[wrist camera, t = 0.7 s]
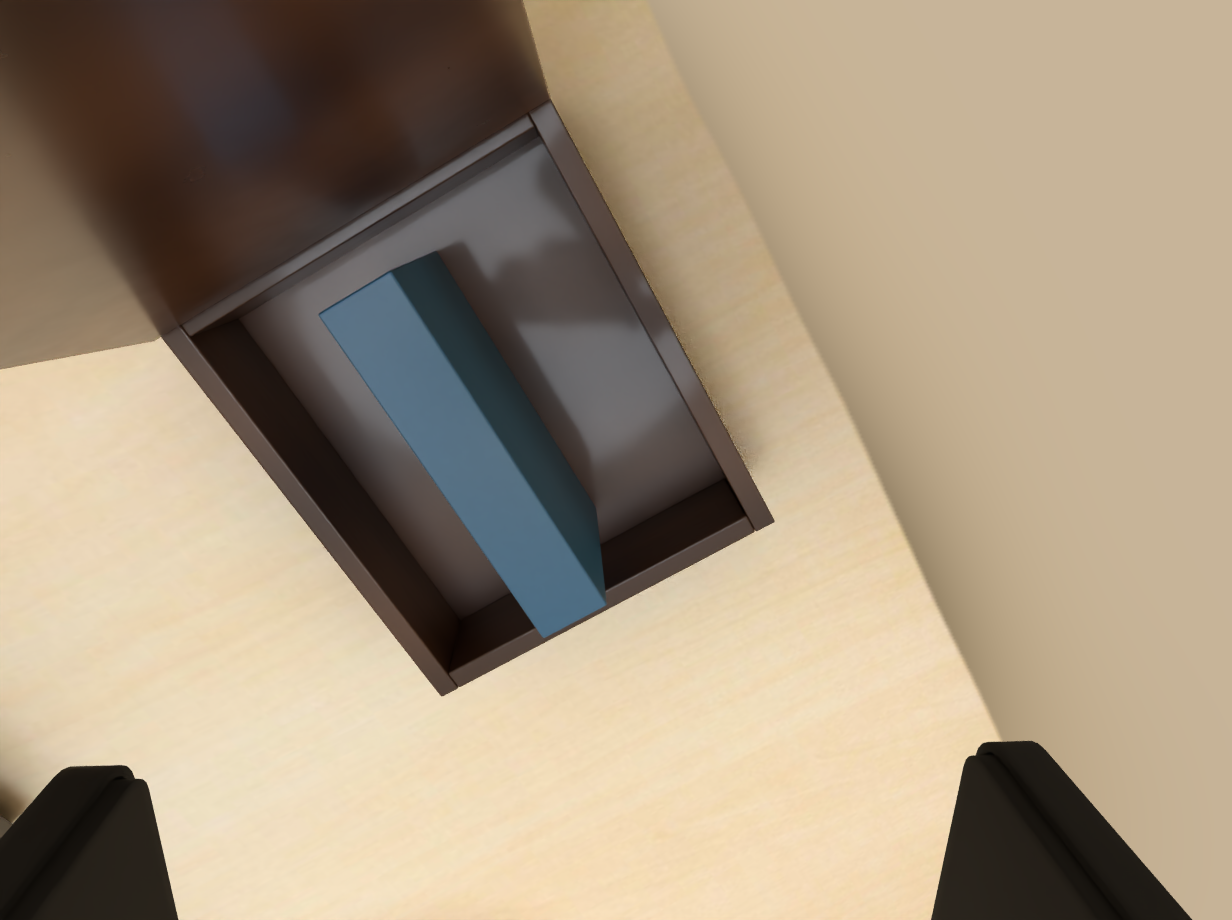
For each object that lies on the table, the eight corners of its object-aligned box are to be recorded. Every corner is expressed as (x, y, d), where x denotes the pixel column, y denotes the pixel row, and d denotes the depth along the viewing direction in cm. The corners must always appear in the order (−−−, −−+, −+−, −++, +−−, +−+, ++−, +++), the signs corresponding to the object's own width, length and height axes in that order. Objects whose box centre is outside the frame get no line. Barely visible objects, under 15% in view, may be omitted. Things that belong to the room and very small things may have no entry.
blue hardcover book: (596, 508, 32) (607, 605, 24) (547, 535, 32) (543, 639, 25) (436, 250, 28) (390, 270, 21) (381, 282, 28) (316, 314, 21)
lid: (419, -369, 6) (-58, -1316, 5) (-867, 530, 7) (-1475, 0, 6) (551, 98, 23) (457, -78, 21) (153, 341, 24) (44, 190, 23)
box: (745, 477, 33) (775, 522, 28) (457, 631, 34) (441, 697, 30) (547, 105, 27) (544, 87, 23) (216, 307, 29) (152, 328, 24)
